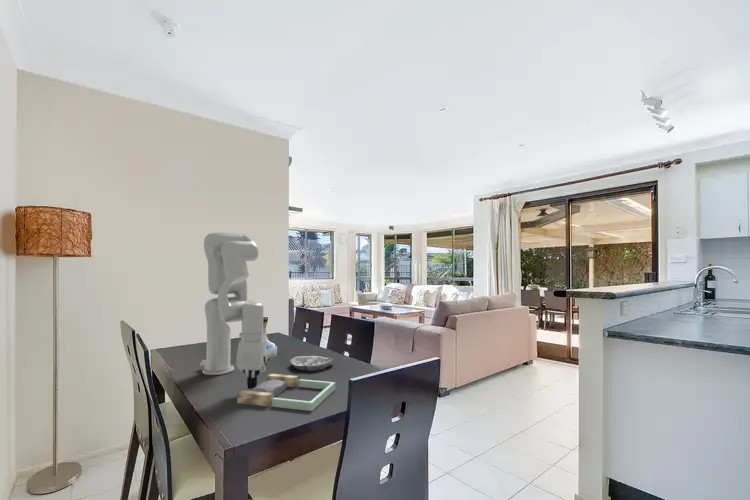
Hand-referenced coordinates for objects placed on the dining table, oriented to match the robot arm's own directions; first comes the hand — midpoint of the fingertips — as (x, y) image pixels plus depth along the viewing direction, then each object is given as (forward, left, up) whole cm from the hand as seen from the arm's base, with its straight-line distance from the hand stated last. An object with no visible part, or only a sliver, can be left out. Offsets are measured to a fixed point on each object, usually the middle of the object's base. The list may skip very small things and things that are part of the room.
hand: (252, 387), depth 131 cm
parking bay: (+21, 0, -2) cm, 21 cm away
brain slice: (+7, +34, -2) cm, 35 cm away
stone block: (+6, 0, -2) cm, 7 cm away
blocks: (+7, 0, -2) cm, 7 cm away
